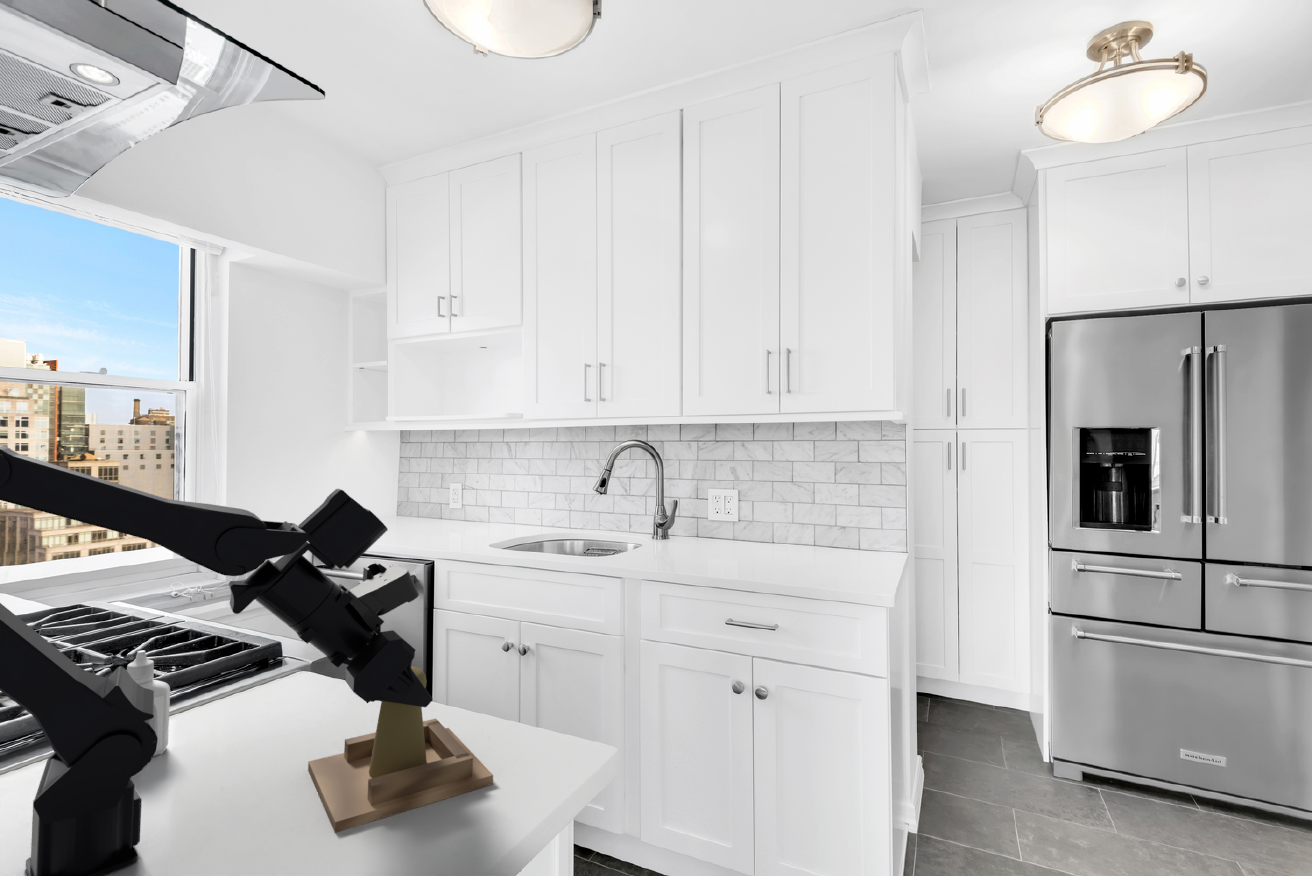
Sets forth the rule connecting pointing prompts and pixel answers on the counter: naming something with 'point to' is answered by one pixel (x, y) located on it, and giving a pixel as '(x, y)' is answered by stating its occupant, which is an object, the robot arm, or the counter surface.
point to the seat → (394, 778)
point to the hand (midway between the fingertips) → (415, 689)
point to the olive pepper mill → (399, 737)
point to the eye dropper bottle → (143, 676)
